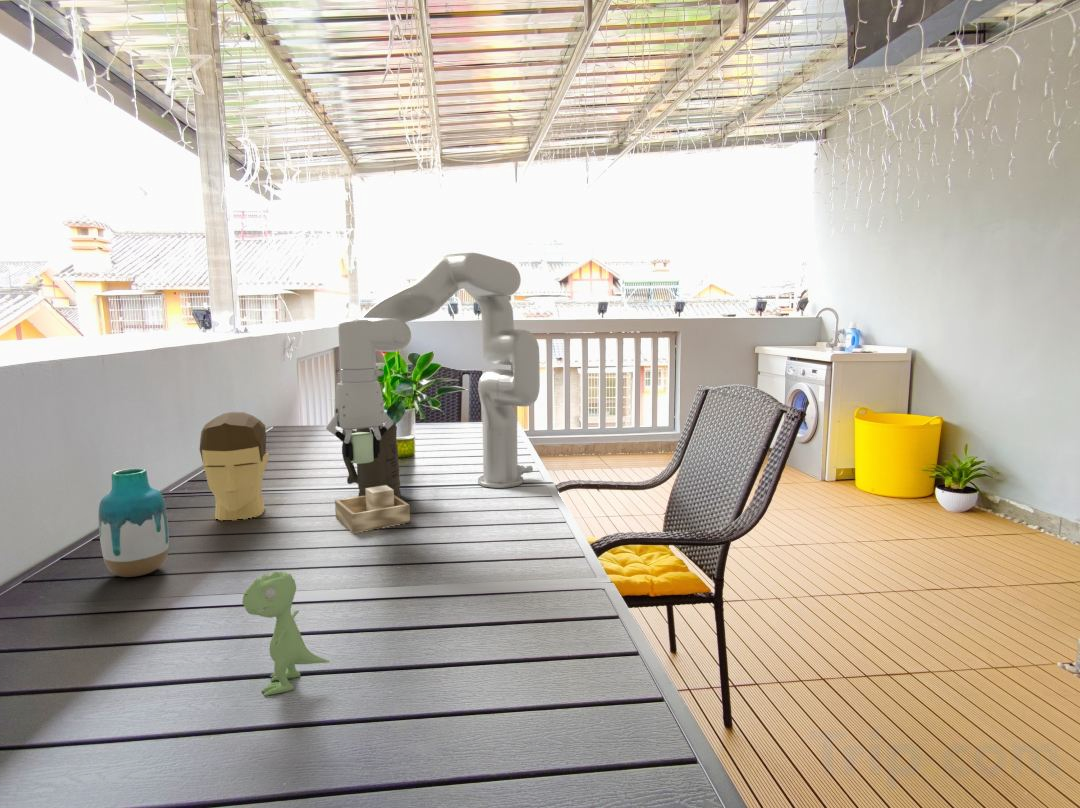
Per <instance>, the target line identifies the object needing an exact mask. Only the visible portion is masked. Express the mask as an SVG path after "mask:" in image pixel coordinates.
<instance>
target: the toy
mask: <svg viewBox="0 0 1080 808" xmlns="http://www.w3.org/2000/svg"><path fill="white" fill-rule="evenodd" d="M296 584H297V583H296V580H295V579H294V578H293V575H292V574H291V573H288V572H285V571H275V572H272V573H265V574H264V575H262V576H261V577H256V578H255V580H254V581H253V583H252V584H250V586H248V588H247V589H245V591H244V593H243V596H242V605H243V606H244V608H245V611H246V612H247V613H248V614H250V615H255V616H259V617H263V618H270V619H272V618H276V620H275V627H274V630H273V635H272V637H271V639H270V641H269V654H270V658H271V660H272V661H273V662H274V666H273V667H274V668H273V670H274V672H273V673H271V675H270V676H269V677H270V678H271V679H270V681H271V682H272V681H273V682H272V683H269V684H268V685H266V686H265V687H264V688H262V689H261V692H262V693H263V696H265V697H266V696H272V695H276V694H277V695H278V694H282V693H287V692H290V691H292V690H294V689H295V687H294V685H293V684H292V683H291V682H289V681H290V679H296V678H300V677H301V673H300V671H298V670H297V669H296V666H295V665H312V664H325V663H326V664H327V663H330V661H331V660H327V659H325V658H323V657H321V656H318V655H317V654H314V653H313V652H311V651H310V650H309V649H308V648H307V645H306V644H305V641H304V640H303V637H302V634H301V633H300V630H299V627H298V625H297V623H296V620H295V617H296V616H297V615H298V613H300V610H299V609H298V610H294V611H293V613H292V612H291V611H292V606H293V602H294V598H295V594H296V592H297V585H296ZM274 681H276V682H274ZM278 681H279V682H278Z"/></svg>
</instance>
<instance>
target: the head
mask: <svg viewBox="0 0 1080 808" xmlns="http://www.w3.org/2000/svg"><path fill="white" fill-rule="evenodd" d="M200 432H201V433H200V438H199V439H200V440H199V441H200V442H199V452H200V456H201V461H202V464H203V465H202V466H203V469H204V473H205V477H206V481H207V486H208V489H210V491H211V493H212V494H213V495H214V498H215V511H214V513H215V515H214V519H215V520H216V519H218V520H217V521H223V520H232V521H238V520H237V519H243V520H249V519H248V518H250V519H253V518H252V517H254V518H256V517H260V515H261V516H262V514H263V513H264V512H265V503H264V499H263V496H262V492H263V480H264V473H265V471H266V469H267V466H268V463H269V454H270V453H269V452H266V451H267V447H266V446H267V432H266V424H264V423H263V421H262V420H260V419H259V418H257V417H256V416H254V415H252V414H249V413H247V412H243V411H232V412H226V413H224V412H223V413H222V414H220V415H217V416H215V417H214V418H213V419H211V420H210V421H208V422H207V423H206V424H204V426H203V427H202V430H201V431H200Z"/></svg>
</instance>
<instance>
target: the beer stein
mask: <svg viewBox="0 0 1080 808" xmlns="http://www.w3.org/2000/svg"><path fill="white" fill-rule="evenodd" d="M392 421H393V425H392V426H391V427H390V428H389V429H387V431H386V432H385V433H384V434H383V436H382V437H381V439H380V440H379V444H380V453H378V458H374V461H373V462H369V463H361V464H357V463H356V468H355V466H354V463H351V462H350V461H348V460H346V457H344V455H343V443H342V447H341V454H342V455H341V456H342V458H343V462H344V465H345V466H346V469H347V471H348V472H347V473H348V476H347V478H346V483H347V484H348V485H351V484H357V487H358V489H359V490H358V495H357V497H359V496H366V491H365V488H371V487H377V486H384V485H387V486H388V487H390V488H391V489H393V490H394V495H395V496H397V497H398V498H401V495H402V492H401V489H400V486H401V480H400V465H399V450H398V443H397V433H398V432H397V431H398V427H397V424H396V423H397V422H396V421H394V420H392ZM379 427H380V426H379ZM379 427H378V428H379ZM358 432H370V429H369V428H363V429H353V430H352V433H358ZM370 433H371V432H370Z"/></svg>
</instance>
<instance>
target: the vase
mask: <svg viewBox="0 0 1080 808" xmlns="http://www.w3.org/2000/svg"><path fill="white" fill-rule="evenodd" d="M148 478H149V477H148V472H147V469H145V468H126V469H121V470H117V471H113V472H112V473H111V490H110V492H109V493H108V494H106V495H104V496H103V497H102V498H101V500H100V502H99V505H98V531H99V533H98V534H99V540H100V548H101V552H102V558H103V561H104V564H105V566H106V568H107V570H108V571H109V572H111V573H112V574H113V575H115V576H118V577H122V578H123V577H124V578H134V577H140V576H144V575H148V574H150V573H153V572H155V571H157V570H159V569H160V568H161V567H162V566H163V565H164V564H165V562H166V560H167V558H168V554H169V548H170V545H169V544H170V543H169V540H170V537H169V535H170V534H169V533H170V532H169V522H168V521H169V520H168V513H167V506H166V502H165V499H164V495H163V494H162V492H161V491H160V490H158V489H156V488H153V487H151V485H150V483H149V479H148Z"/></svg>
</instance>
